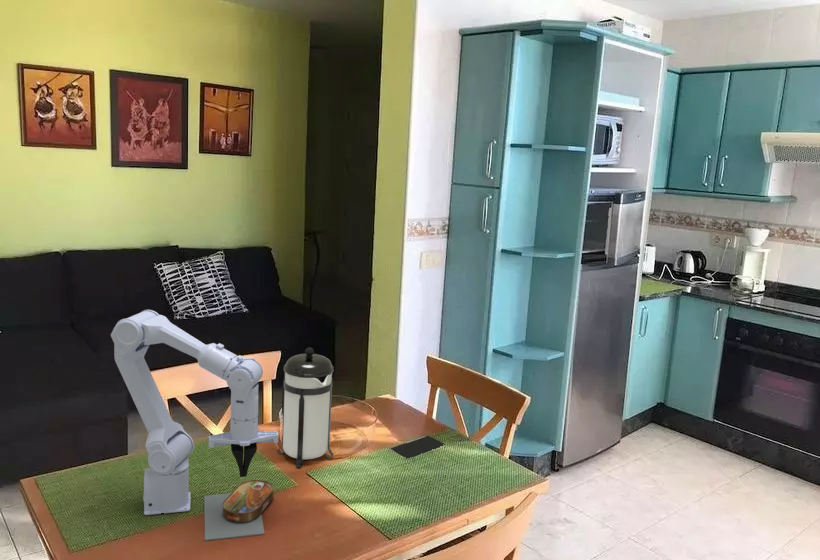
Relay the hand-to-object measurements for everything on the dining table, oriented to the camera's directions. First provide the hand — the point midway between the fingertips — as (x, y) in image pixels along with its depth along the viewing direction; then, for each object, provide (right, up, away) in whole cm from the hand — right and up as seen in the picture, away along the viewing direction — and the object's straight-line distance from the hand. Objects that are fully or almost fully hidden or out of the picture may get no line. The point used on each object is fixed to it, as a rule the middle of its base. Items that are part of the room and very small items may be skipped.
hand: (243, 474), depth 143 cm
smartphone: (+39, -5, +40) cm, 56 cm away
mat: (-2, -9, +1) cm, 10 cm away
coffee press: (+8, -4, +32) cm, 33 cm away
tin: (+4, -8, +3) cm, 10 cm away
